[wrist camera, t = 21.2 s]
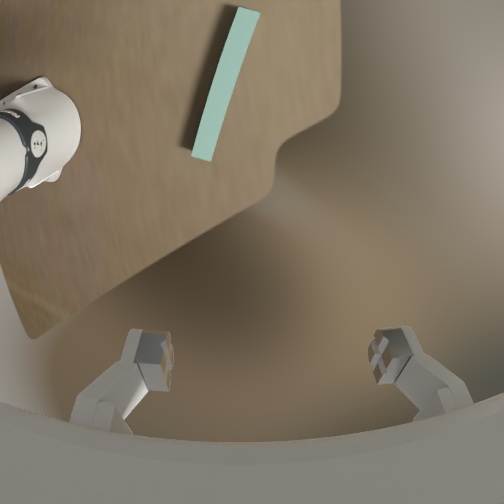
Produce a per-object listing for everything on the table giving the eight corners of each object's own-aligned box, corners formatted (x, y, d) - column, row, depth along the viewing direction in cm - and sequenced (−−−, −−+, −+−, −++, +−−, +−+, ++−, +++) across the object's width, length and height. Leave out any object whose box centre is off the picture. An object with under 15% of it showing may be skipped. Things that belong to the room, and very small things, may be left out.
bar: (212, 155, 47) (210, 161, 44) (193, 150, 46) (191, 156, 44) (259, 16, 35) (260, 12, 32) (238, 10, 34) (238, 6, 32)
